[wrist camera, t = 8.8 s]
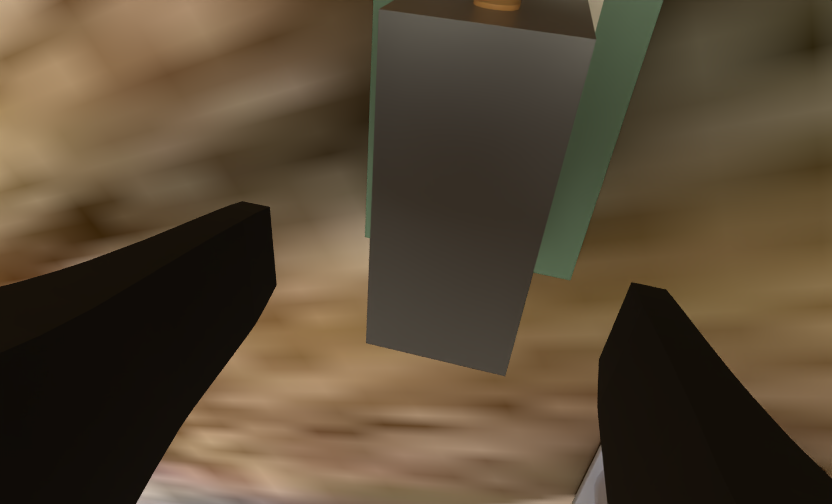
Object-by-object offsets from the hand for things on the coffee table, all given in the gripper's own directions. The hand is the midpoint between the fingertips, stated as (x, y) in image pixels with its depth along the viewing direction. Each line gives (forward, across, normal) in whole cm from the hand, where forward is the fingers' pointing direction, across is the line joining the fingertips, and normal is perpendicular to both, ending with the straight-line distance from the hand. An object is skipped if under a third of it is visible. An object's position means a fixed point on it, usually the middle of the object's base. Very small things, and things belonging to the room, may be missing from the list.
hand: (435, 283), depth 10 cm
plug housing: (+8, 0, -2) cm, 8 cm away
